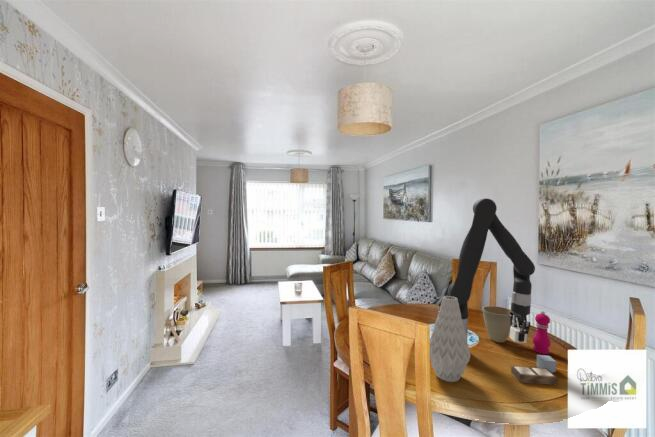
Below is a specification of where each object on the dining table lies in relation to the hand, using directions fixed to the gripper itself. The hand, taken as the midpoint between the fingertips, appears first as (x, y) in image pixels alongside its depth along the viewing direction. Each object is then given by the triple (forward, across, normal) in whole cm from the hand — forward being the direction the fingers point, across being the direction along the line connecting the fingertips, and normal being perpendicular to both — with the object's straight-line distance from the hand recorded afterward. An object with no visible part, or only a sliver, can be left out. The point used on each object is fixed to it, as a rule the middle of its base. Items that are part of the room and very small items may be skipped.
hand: (517, 338), depth 142 cm
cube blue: (+10, +7, +9) cm, 15 cm away
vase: (+11, +19, -36) cm, 42 cm away
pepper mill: (+10, -11, +17) cm, 22 cm away
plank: (+10, +16, -1) cm, 19 cm away
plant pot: (+10, -22, +1) cm, 24 cm away
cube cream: (+1, 0, 0) cm, 1 cm away
